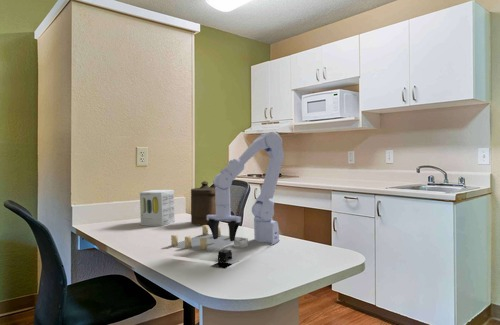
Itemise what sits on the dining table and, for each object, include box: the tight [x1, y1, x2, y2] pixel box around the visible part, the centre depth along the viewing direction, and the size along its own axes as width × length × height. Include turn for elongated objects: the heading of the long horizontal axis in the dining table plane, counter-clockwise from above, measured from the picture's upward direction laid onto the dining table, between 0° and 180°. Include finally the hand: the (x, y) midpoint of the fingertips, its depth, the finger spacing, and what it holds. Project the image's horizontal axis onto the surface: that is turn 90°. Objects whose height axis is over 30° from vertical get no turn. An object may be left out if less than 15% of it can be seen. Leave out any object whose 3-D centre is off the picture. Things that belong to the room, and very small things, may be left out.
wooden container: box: [190, 180, 216, 226], centre depth 185 cm, size 15×15×22 cm
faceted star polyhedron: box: [233, 237, 249, 249], centre depth 131 cm, size 6×5×4 cm
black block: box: [210, 248, 237, 270], centre depth 114 cm, size 12×7×5 cm, turn 154°
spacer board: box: [167, 225, 244, 253], centre depth 139 cm, size 20×24×5 cm
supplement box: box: [139, 189, 176, 227], centre depth 187 cm, size 13×13×18 cm
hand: (224, 239), depth 135 cm, fingers open, 7 cm apart
